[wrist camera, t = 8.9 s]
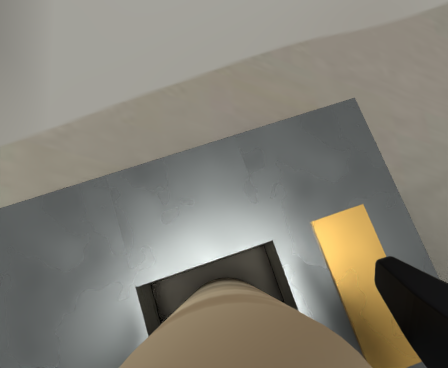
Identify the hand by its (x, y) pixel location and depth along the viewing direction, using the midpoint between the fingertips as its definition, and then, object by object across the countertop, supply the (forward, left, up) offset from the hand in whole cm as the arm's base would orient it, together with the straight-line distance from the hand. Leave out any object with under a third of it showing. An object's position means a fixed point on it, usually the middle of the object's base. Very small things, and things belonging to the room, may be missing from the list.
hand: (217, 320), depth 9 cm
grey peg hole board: (-1, 0, -8) cm, 8 cm away
